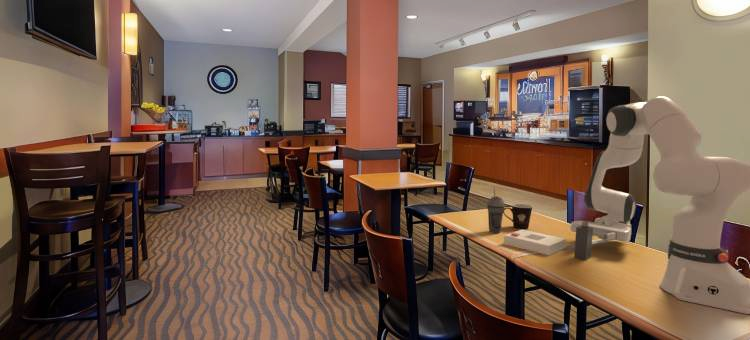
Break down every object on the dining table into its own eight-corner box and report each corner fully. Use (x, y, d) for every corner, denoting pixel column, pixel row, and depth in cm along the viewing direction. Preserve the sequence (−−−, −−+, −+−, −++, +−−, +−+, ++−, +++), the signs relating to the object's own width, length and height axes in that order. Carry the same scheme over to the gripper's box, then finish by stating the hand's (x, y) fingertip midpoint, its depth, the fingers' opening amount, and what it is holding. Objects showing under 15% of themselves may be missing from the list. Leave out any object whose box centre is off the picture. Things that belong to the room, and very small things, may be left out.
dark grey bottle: (590, 257, 154) (593, 221, 152) (585, 260, 151) (588, 223, 149) (579, 254, 157) (581, 219, 155) (574, 257, 153) (576, 221, 152)
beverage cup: (504, 235, 182) (506, 188, 179) (486, 233, 183) (488, 187, 180) (502, 230, 189) (505, 185, 186) (485, 229, 190) (487, 184, 188)
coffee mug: (534, 227, 194) (535, 206, 193) (525, 231, 188) (527, 208, 187) (509, 223, 202) (511, 202, 201) (501, 226, 196) (502, 204, 195)
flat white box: (565, 247, 165) (566, 236, 164) (548, 255, 155) (549, 243, 155) (521, 237, 178) (522, 227, 177) (503, 244, 168) (504, 233, 168)
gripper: (579, 215, 174) (564, 220, 165) (636, 224, 159) (623, 231, 150) (578, 230, 175) (563, 236, 165) (634, 241, 160) (621, 248, 150)
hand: (592, 234), depth 157 cm, fingers open, 8 cm apart
